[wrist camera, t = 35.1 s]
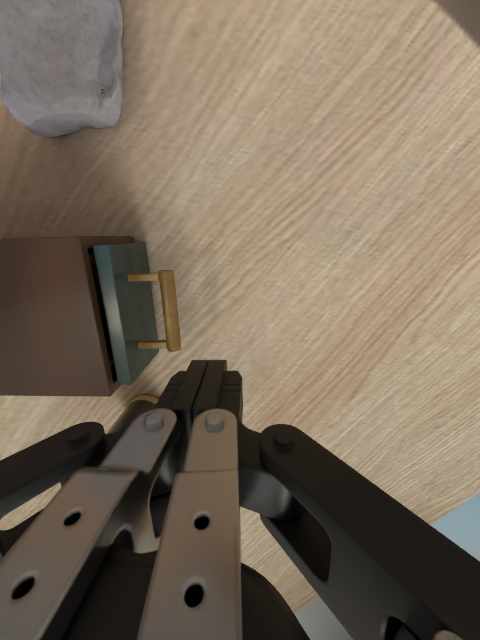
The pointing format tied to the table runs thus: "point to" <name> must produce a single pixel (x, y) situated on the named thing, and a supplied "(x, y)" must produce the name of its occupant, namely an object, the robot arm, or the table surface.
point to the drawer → (132, 307)
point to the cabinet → (52, 318)
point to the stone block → (61, 63)
